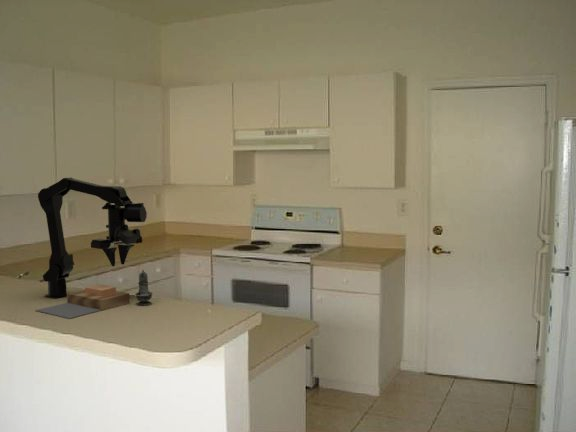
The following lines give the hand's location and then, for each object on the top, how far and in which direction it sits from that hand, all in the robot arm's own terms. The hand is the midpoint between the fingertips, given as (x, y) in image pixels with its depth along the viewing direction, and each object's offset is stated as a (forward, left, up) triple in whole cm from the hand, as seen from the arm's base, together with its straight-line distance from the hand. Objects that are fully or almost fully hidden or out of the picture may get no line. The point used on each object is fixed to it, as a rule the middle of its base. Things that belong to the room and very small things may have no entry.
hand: (118, 265), depth 207 cm
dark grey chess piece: (+14, -1, -12) cm, 19 cm away
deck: (0, -9, -12) cm, 15 cm away
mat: (0, -21, -12) cm, 24 cm away
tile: (0, -8, -8) cm, 12 cm away
